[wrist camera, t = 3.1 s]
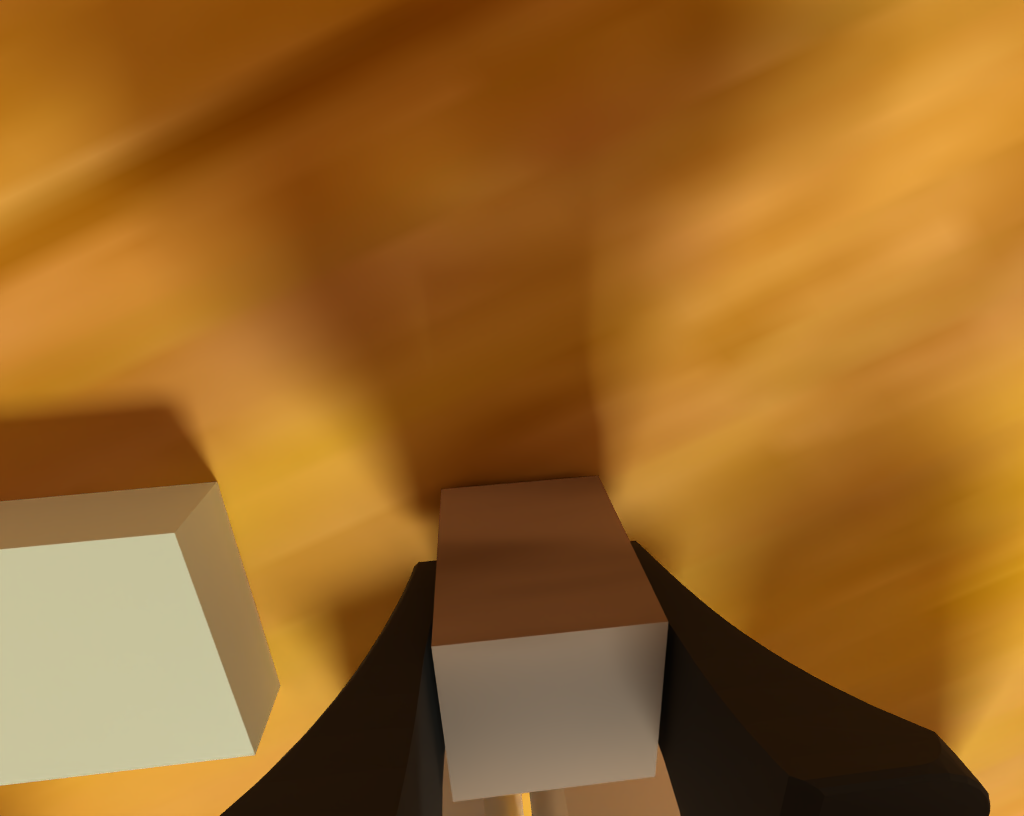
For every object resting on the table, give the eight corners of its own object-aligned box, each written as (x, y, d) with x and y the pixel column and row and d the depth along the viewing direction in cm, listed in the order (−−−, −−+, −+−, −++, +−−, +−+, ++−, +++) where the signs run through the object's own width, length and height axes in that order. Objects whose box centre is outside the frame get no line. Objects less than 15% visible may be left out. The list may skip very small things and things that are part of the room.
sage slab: (284, 674, 16) (254, 755, 14) (43, 701, 16) (-28, 788, 13) (223, 473, 13) (174, 532, 11) (-69, 499, 13) (-183, 566, 11)
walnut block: (595, 598, 15) (655, 776, 11) (455, 612, 15) (453, 801, 10) (597, 475, 14) (668, 621, 9) (441, 489, 13) (431, 646, 9)
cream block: (637, 748, 18) (697, 934, 14) (524, 749, 18) (547, 942, 13) (664, 663, 17) (741, 840, 12) (542, 660, 16) (573, 844, 12)
